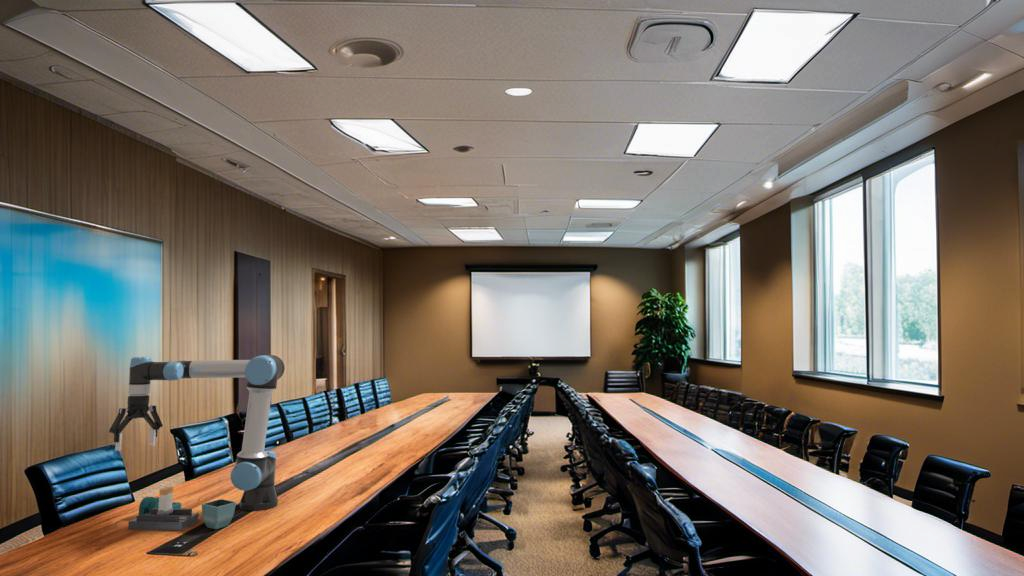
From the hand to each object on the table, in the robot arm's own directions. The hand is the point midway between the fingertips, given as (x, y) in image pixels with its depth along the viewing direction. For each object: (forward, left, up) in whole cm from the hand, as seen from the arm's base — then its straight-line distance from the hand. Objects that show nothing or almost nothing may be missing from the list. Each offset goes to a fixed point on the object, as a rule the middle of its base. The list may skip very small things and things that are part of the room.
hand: (135, 448), depth 245 cm
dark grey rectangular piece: (-20, +12, -24) cm, 33 cm away
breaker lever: (-20, +12, -23) cm, 33 cm away
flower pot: (-41, +13, -27) cm, 51 cm away
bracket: (-10, -4, -27) cm, 29 cm away
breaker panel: (-20, +12, -27) cm, 35 cm away
